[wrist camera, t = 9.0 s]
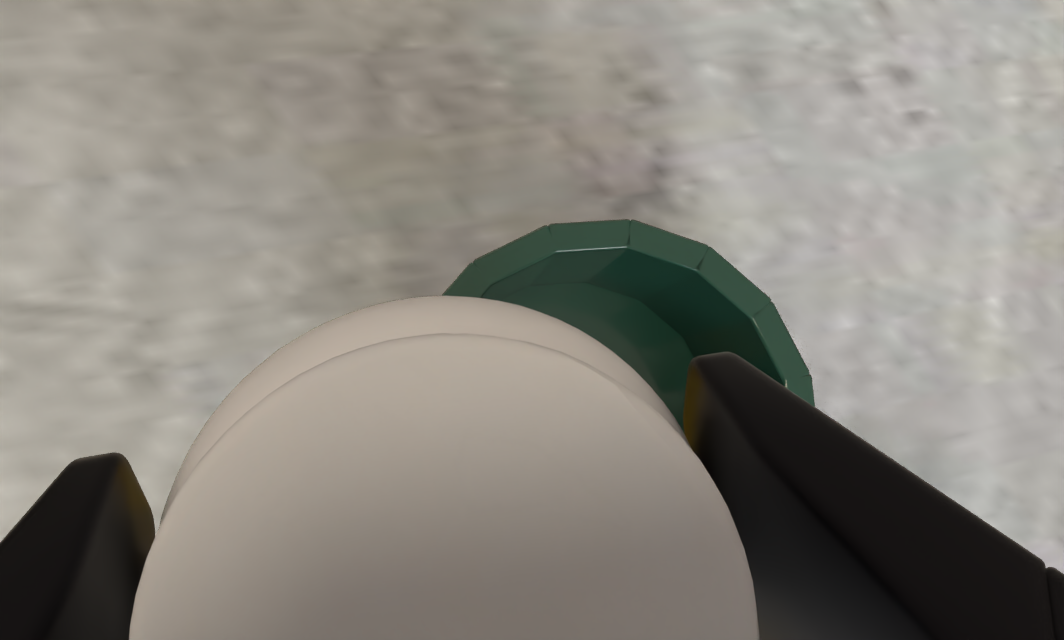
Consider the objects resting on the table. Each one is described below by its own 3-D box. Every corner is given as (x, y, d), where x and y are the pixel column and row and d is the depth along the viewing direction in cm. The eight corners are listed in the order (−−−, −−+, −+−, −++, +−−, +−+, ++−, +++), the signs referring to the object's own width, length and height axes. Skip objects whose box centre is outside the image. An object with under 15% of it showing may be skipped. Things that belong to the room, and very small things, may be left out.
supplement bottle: (554, 319, 16) (761, 153, 6) (628, 624, 15) (979, 971, 6) (245, 390, 15) (-80, 330, 5) (314, 713, 15) (94, 1291, 5)
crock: (795, 409, 23) (899, 408, 18) (590, 676, 21) (640, 755, 17) (547, 195, 23) (581, 134, 18) (323, 451, 21) (293, 464, 16)
